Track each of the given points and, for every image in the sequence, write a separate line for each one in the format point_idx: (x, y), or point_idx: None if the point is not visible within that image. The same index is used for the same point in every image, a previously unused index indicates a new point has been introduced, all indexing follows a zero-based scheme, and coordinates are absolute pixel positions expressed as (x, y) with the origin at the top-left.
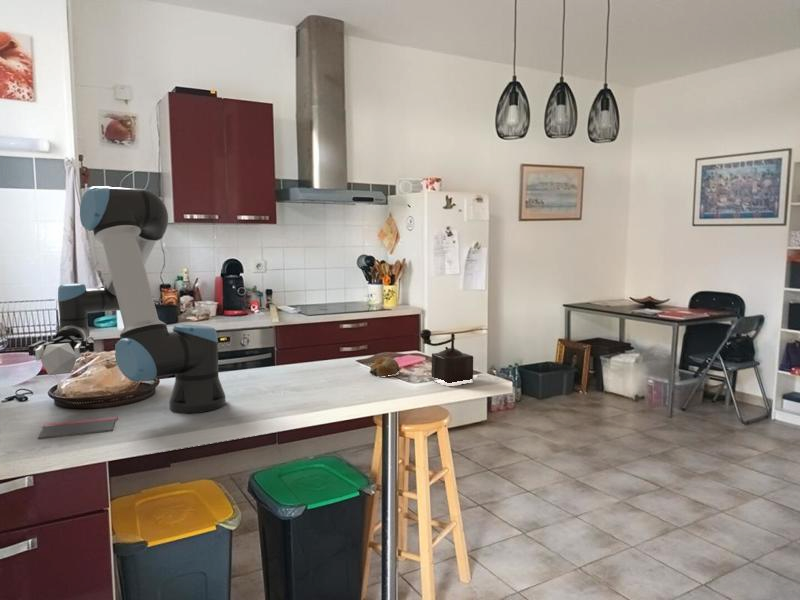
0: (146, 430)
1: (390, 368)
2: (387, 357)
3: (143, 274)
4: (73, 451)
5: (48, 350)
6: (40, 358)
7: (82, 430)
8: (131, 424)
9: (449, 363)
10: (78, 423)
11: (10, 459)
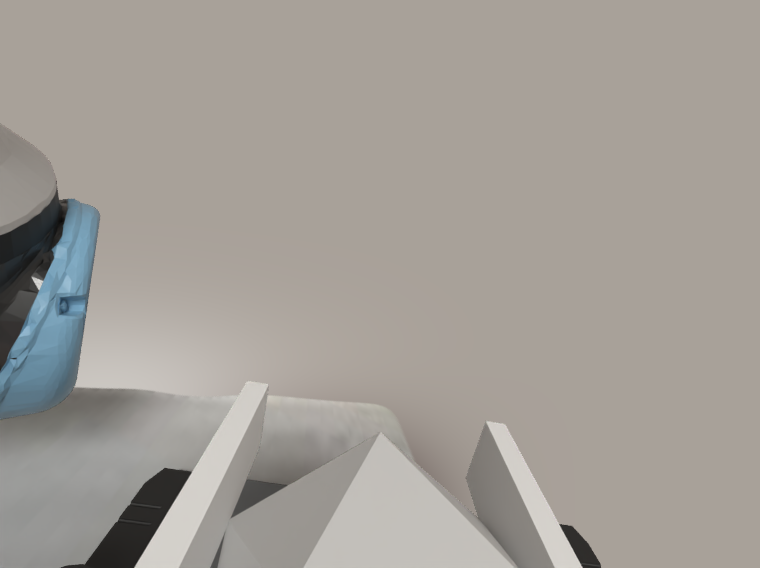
0: (104, 437)
1: None
2: None
3: None
4: (292, 401)
5: (456, 503)
6: (478, 509)
7: (253, 498)
8: (93, 507)
9: None
10: None
11: (390, 415)
